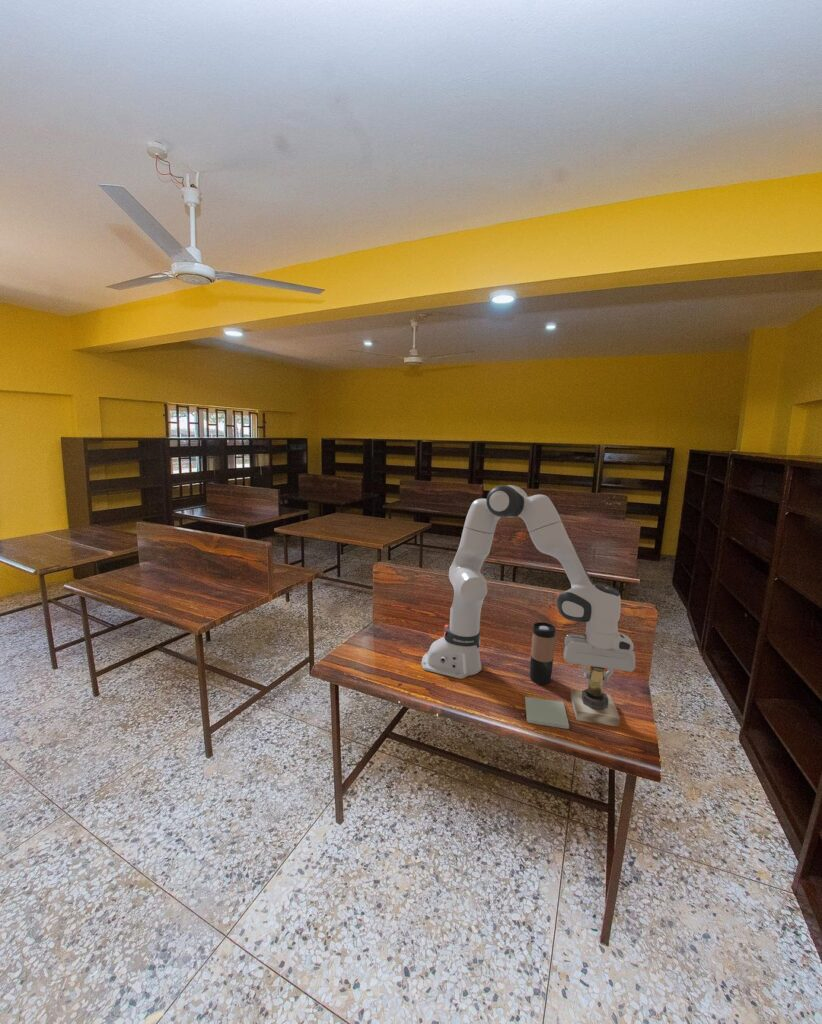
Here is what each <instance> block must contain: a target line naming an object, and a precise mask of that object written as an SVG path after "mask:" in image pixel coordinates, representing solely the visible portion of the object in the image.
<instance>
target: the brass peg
mask: <svg viewBox="0 0 822 1024" xmlns="http://www.w3.org/2000/svg"><path fill="white" fill-rule="evenodd" d="M605 670H606V668H600V667H593V666H589V671H590V679H588V685H587V689H588V693H589V694H591V695H593V696H601V694H602V692H603V685H604V681H603V678H604V673H605Z"/></svg>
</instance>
